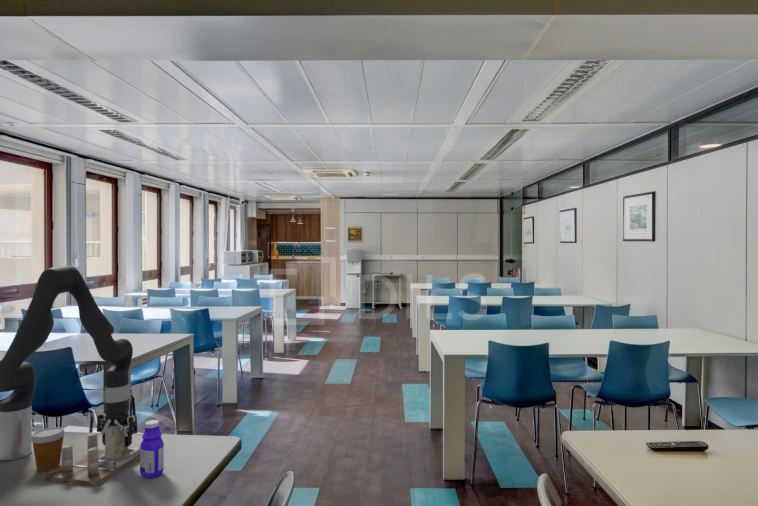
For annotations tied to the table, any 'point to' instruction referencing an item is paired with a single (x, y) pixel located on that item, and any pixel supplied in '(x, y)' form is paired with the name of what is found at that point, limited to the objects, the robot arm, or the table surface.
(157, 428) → the bottle
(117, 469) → the pin board
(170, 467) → the table surface
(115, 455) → the skincare box
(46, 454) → the disposable coffee cup
